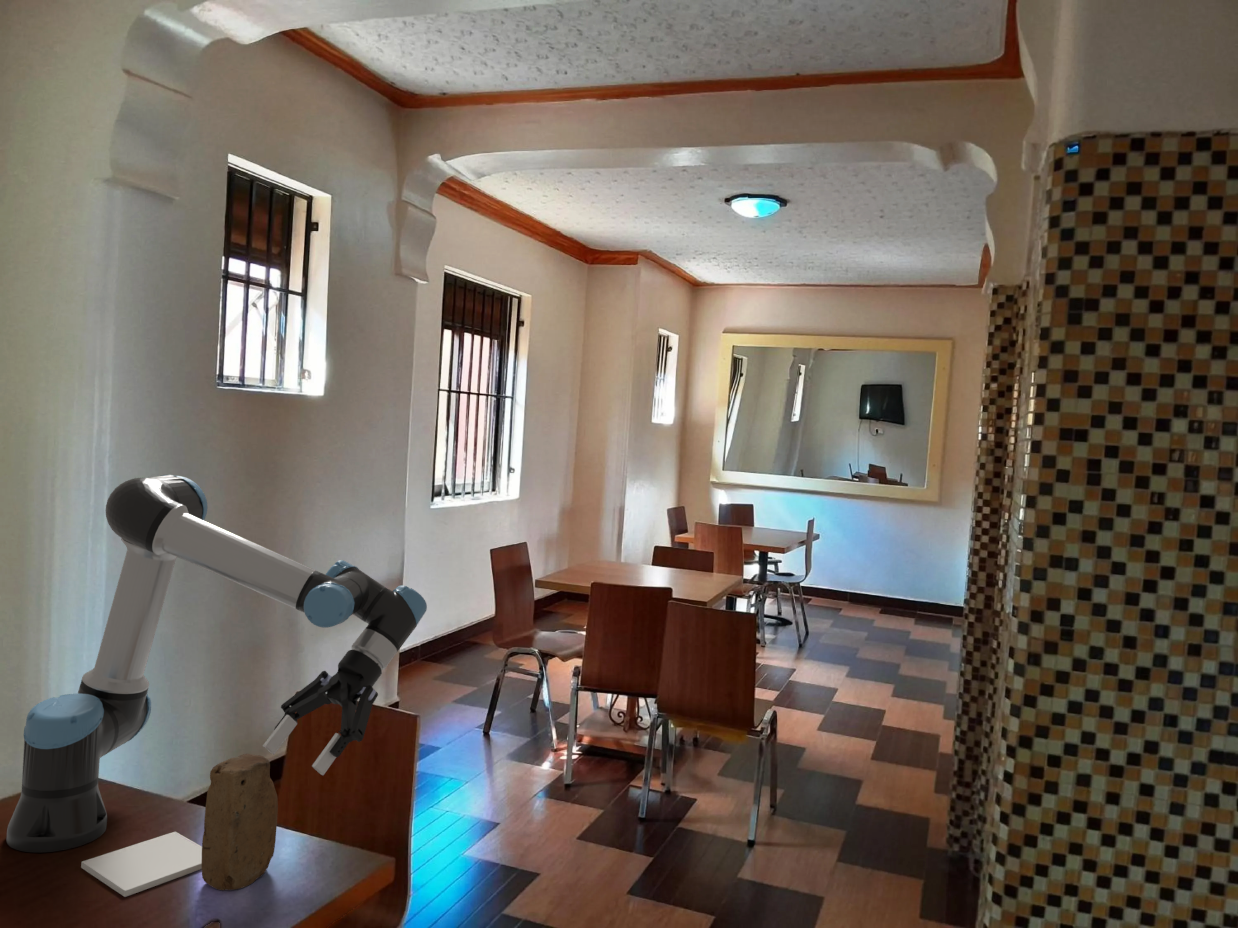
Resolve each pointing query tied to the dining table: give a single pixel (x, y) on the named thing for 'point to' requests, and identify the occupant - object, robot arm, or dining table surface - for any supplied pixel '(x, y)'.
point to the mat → (146, 863)
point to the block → (239, 822)
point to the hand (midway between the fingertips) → (292, 760)
